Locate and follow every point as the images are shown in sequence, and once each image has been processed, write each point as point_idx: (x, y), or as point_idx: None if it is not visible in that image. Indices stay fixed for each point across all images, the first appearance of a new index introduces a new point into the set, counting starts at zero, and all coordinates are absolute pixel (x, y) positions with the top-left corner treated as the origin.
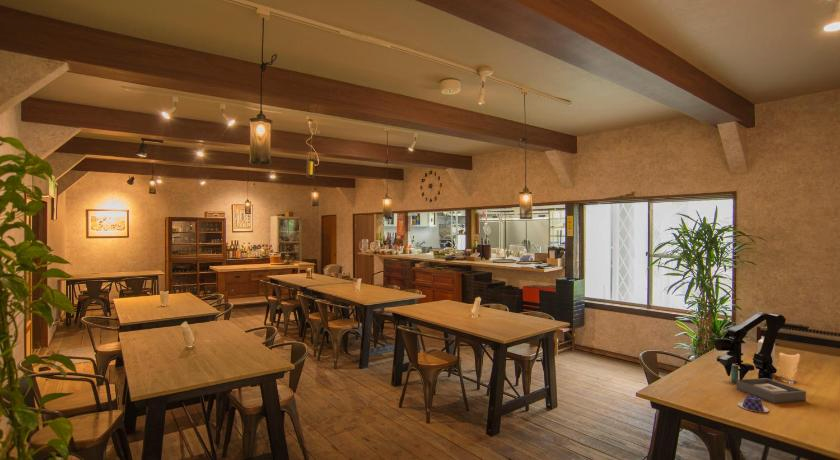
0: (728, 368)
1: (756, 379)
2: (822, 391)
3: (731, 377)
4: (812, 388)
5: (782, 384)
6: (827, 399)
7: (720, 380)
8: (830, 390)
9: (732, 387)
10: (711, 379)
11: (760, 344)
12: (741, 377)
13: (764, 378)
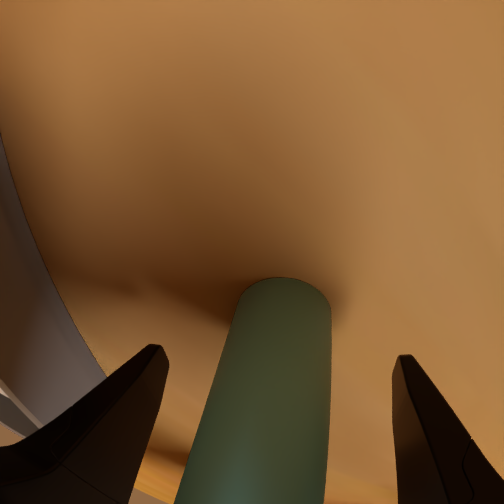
0: (421, 500)
1: (14, 401)
2: (140, 485)
3: (298, 337)
4: (168, 493)
5: (4, 422)
6: None
7: (400, 130)
8: (158, 498)
9: (36, 71)
10: (472, 3)
11: None
12: (112, 387)
13: None
